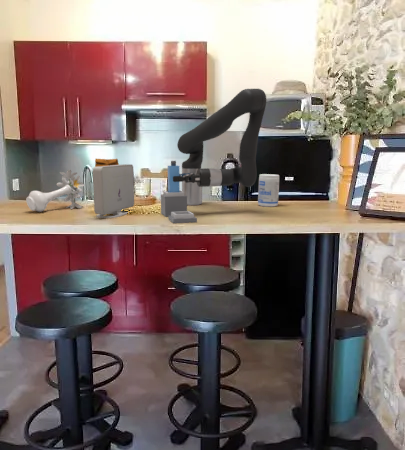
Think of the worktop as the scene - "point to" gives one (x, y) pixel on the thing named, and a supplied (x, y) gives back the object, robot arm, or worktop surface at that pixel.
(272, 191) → the supplement tub
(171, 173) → the blue plug
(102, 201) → the network device
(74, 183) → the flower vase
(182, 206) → the grey block
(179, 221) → the plate
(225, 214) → the worktop surface
